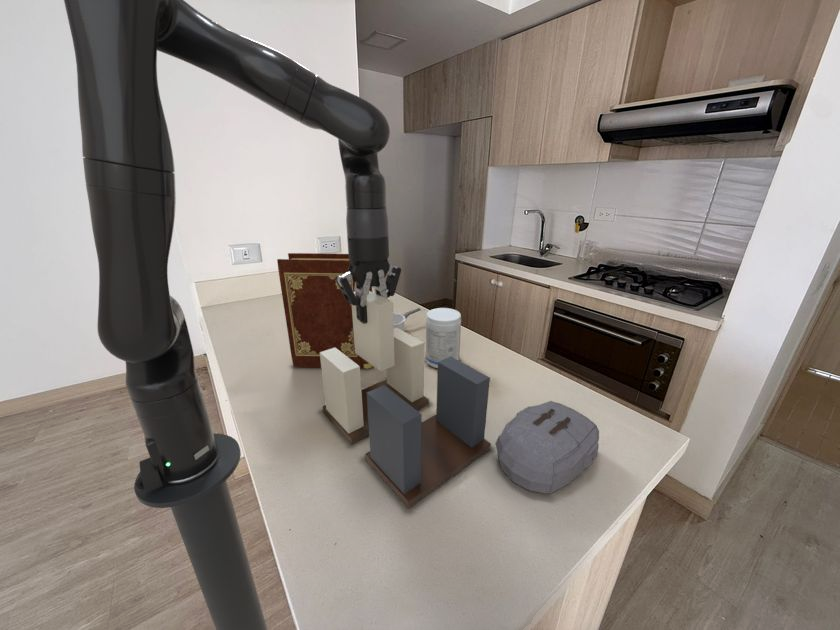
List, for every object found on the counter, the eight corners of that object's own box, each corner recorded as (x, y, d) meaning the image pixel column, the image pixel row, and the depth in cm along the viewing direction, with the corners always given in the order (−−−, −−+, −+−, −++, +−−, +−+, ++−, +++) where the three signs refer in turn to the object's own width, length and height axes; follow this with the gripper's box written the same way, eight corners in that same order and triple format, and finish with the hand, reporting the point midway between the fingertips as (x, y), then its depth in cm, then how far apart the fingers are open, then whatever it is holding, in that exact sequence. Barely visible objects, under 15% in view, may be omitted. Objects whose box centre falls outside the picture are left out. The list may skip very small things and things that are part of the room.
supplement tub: (433, 350, 103) (435, 305, 97) (463, 357, 99) (466, 310, 93) (419, 365, 95) (420, 316, 89) (451, 373, 91) (453, 323, 85)
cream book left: (348, 433, 67) (343, 372, 62) (326, 409, 74) (319, 352, 69) (363, 426, 69) (359, 366, 64) (340, 402, 76) (335, 347, 71)
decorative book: (378, 355, 100) (374, 253, 89) (374, 369, 93) (369, 260, 81) (302, 353, 100) (288, 252, 89) (292, 367, 93) (276, 259, 82)
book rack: (408, 508, 54) (408, 501, 53) (322, 411, 76) (321, 406, 75) (490, 449, 66) (491, 443, 65) (395, 380, 88) (395, 375, 87)
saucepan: (430, 327, 119) (431, 312, 117) (385, 344, 106) (384, 328, 104) (409, 318, 127) (409, 304, 124) (364, 333, 114) (363, 317, 112)
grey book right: (471, 447, 64) (477, 384, 59) (435, 420, 71) (437, 361, 66) (484, 439, 66) (490, 377, 61) (448, 413, 73) (450, 356, 68)
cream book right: (412, 402, 77) (411, 347, 71) (386, 383, 84) (384, 331, 78) (423, 396, 79) (424, 342, 73) (398, 378, 86) (397, 327, 81)
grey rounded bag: (537, 416, 75) (476, 460, 63) (542, 383, 72) (479, 423, 60) (608, 456, 64) (550, 519, 52) (618, 420, 61) (558, 478, 49)
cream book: (380, 371, 68) (377, 305, 62) (354, 352, 75) (350, 292, 70) (394, 365, 70) (393, 301, 65) (368, 348, 77) (365, 289, 72)
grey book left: (404, 494, 54) (403, 423, 49) (370, 457, 61) (366, 392, 56) (420, 483, 56) (421, 413, 51) (386, 448, 63) (384, 384, 58)
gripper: (387, 227, 69) (390, 307, 76) (322, 234, 61) (331, 322, 67) (410, 232, 64) (411, 317, 70) (342, 239, 56) (350, 335, 62)
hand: (372, 319), depth 69 cm, fingers closed on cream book, 3 cm apart
